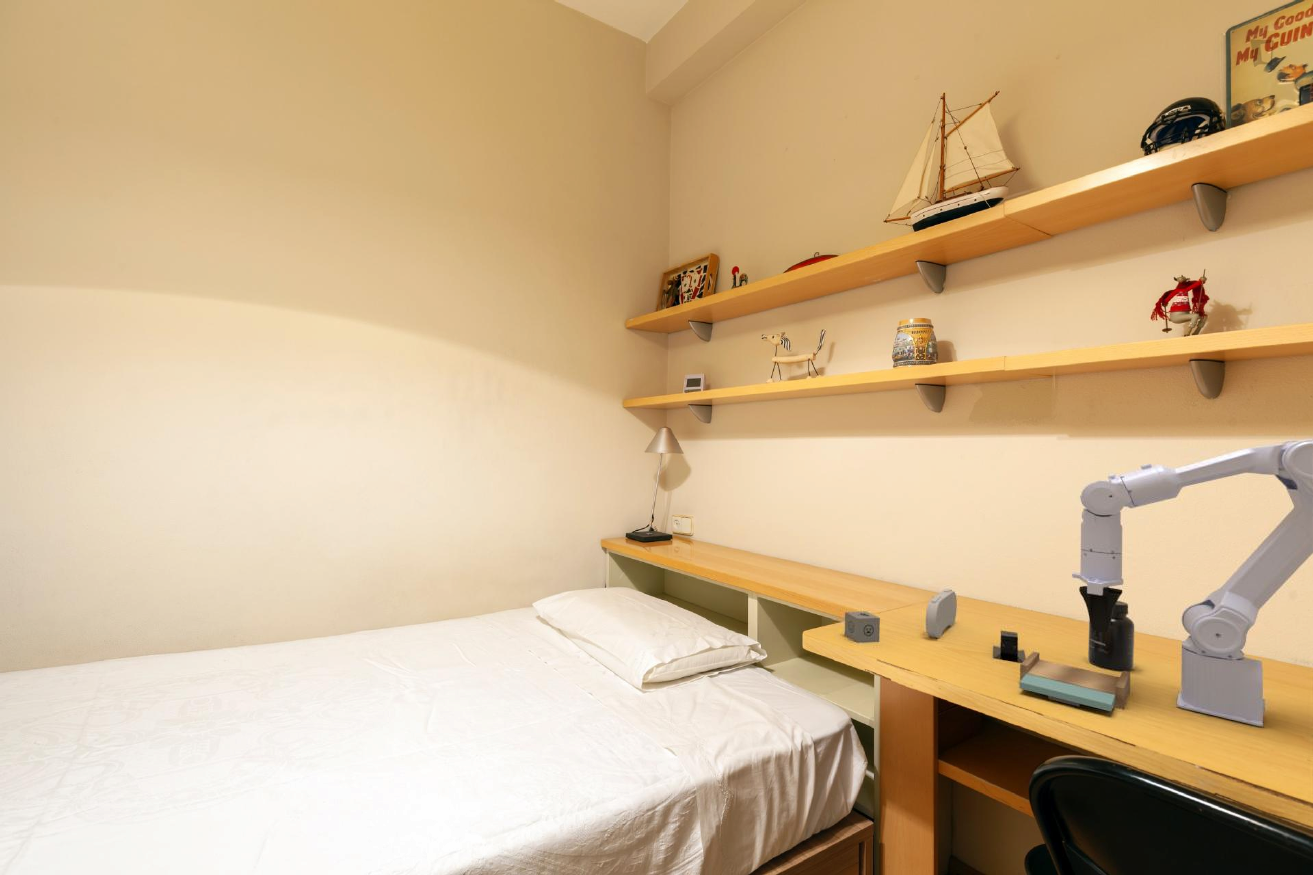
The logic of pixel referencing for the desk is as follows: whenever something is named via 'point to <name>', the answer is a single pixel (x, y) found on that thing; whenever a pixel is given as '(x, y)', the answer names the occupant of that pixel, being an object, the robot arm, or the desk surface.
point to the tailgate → (1068, 692)
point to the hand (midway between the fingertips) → (1100, 630)
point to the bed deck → (1078, 677)
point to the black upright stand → (1008, 648)
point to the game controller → (941, 613)
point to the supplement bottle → (1113, 642)
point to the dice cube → (862, 627)
